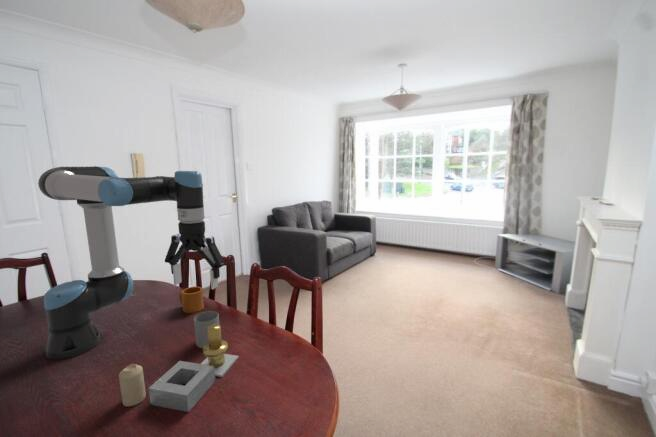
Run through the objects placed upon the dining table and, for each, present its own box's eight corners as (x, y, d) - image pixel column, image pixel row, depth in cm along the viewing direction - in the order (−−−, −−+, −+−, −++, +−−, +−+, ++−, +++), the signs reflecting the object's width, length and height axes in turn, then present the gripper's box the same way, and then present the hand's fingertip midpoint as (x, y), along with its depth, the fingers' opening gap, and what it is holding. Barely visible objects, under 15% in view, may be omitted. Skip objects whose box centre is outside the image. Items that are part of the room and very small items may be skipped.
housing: (150, 404, 82) (148, 388, 81) (181, 375, 94) (179, 360, 93) (188, 412, 79) (186, 395, 79) (215, 381, 91) (214, 366, 90)
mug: (191, 301, 146) (190, 283, 145) (207, 307, 140) (206, 288, 139) (174, 308, 139) (172, 289, 137) (190, 314, 133) (189, 295, 131)
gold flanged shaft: (199, 368, 96) (195, 332, 94) (213, 354, 103) (210, 320, 101) (220, 372, 94) (217, 334, 92) (233, 357, 101) (230, 322, 99)
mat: (193, 372, 95) (193, 370, 95) (212, 353, 104) (212, 352, 104) (222, 377, 93) (221, 375, 92) (238, 357, 102) (238, 355, 102)
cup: (212, 349, 107) (209, 323, 105) (191, 346, 109) (188, 321, 107) (224, 336, 115) (222, 312, 114) (205, 334, 117) (203, 310, 115)
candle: (129, 392, 87) (125, 361, 85) (149, 391, 87) (145, 360, 85) (118, 407, 81) (113, 374, 80) (139, 406, 82) (135, 372, 80)
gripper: (148, 221, 93) (154, 285, 97) (220, 225, 87) (224, 294, 91) (166, 217, 100) (171, 277, 104) (234, 221, 94) (236, 284, 98)
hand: (196, 285), depth 97 cm, fingers open, 13 cm apart
